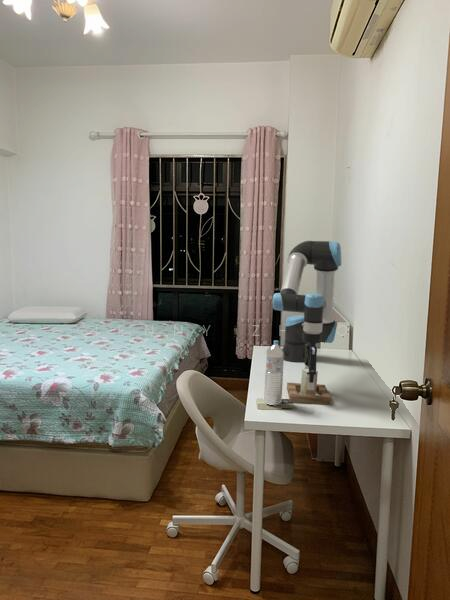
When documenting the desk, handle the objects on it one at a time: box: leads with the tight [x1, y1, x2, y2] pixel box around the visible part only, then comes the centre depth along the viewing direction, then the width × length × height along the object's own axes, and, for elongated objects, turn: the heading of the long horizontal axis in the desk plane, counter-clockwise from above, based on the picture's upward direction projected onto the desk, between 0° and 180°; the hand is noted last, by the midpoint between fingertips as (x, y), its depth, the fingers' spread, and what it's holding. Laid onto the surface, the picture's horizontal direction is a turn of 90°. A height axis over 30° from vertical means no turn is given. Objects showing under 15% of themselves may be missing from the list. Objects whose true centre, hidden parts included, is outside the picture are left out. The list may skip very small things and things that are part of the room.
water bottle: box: [263, 340, 285, 407], centre depth 166 cm, size 7×7×25 cm
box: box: [299, 368, 319, 395], centre depth 176 cm, size 5×4×11 cm
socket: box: [286, 382, 333, 406], centre depth 177 cm, size 16×16×2 cm
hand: (308, 385), depth 176 cm, fingers open, 10 cm apart
